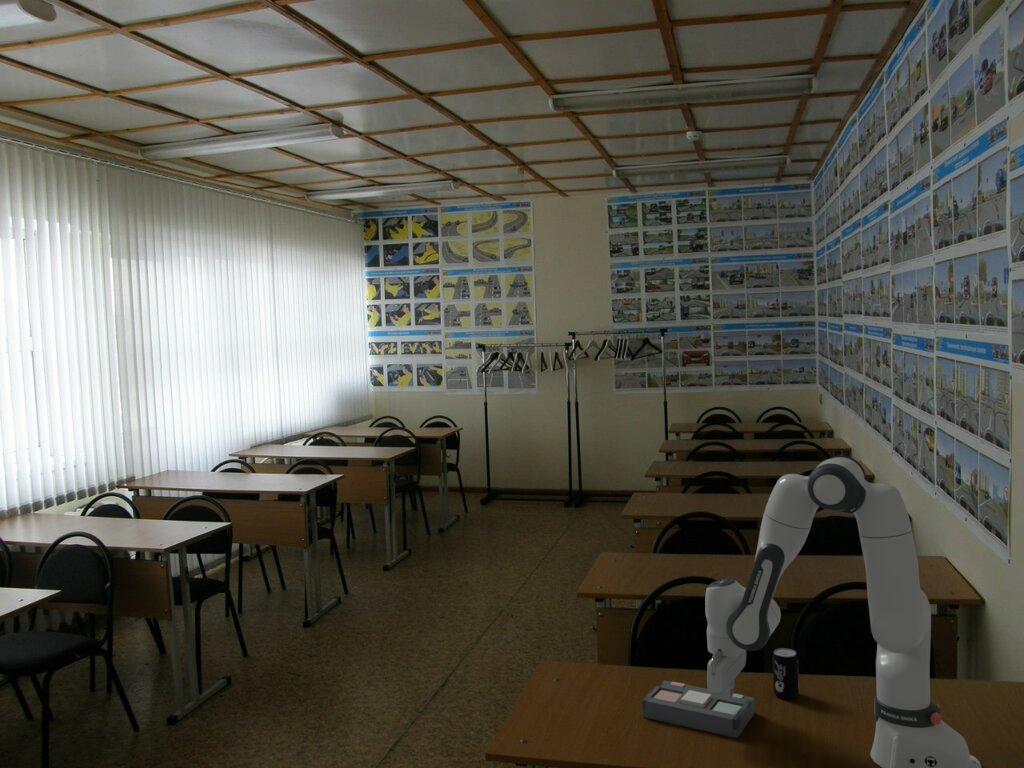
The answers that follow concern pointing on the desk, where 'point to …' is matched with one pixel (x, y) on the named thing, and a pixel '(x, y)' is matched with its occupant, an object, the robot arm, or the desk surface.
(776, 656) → the beverage can
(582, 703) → the desk surface
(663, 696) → the rose key
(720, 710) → the sage key
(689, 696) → the ivory key
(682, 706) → the keypad
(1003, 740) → the desk surface
